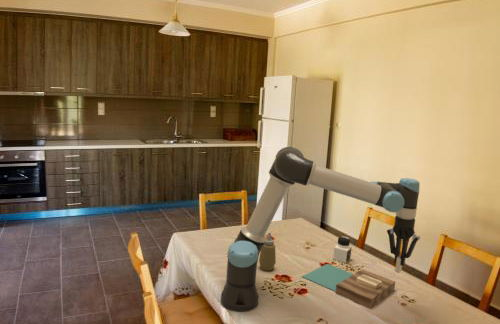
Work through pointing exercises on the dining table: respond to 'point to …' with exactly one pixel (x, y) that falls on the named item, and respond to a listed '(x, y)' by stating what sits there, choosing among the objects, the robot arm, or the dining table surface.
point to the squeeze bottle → (268, 254)
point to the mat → (328, 276)
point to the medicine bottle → (342, 250)
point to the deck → (364, 289)
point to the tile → (369, 281)
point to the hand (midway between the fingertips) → (398, 271)
